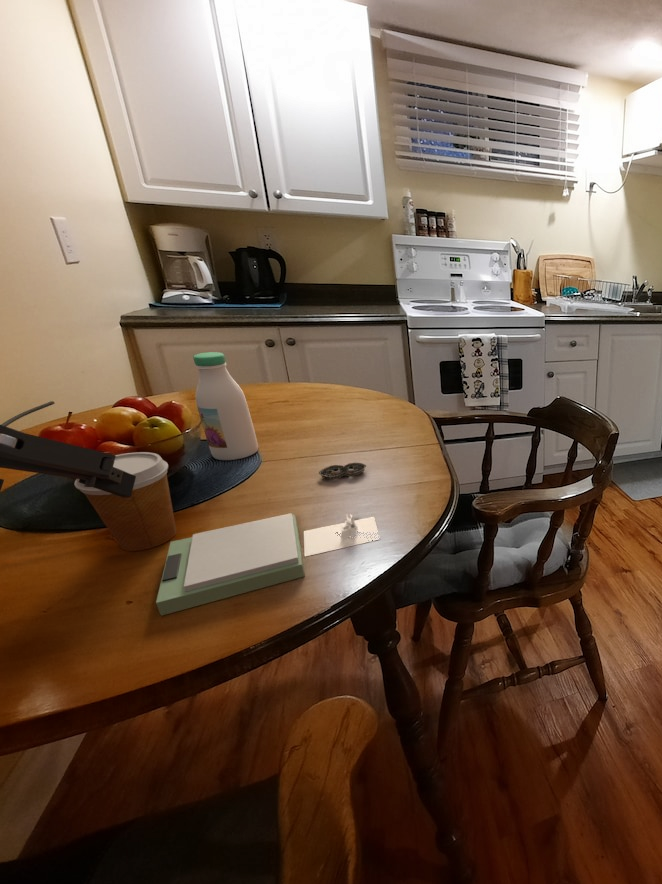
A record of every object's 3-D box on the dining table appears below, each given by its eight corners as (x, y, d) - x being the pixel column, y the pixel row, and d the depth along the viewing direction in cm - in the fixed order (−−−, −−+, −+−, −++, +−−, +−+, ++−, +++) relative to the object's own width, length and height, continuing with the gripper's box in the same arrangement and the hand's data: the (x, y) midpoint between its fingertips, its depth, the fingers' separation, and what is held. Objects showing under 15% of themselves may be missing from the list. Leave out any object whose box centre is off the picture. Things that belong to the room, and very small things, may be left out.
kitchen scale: (174, 553, 69) (168, 536, 68) (297, 525, 77) (293, 510, 75) (161, 616, 58) (153, 597, 57) (304, 576, 66) (300, 559, 65)
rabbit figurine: (359, 537, 75) (356, 519, 73) (341, 541, 74) (337, 523, 72) (357, 527, 77) (354, 509, 76) (339, 531, 76) (336, 513, 75)
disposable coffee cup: (123, 525, 74) (93, 454, 69) (199, 516, 77) (176, 447, 72) (89, 563, 66) (53, 486, 61) (176, 551, 69) (148, 477, 64)
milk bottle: (256, 442, 103) (231, 347, 95) (262, 455, 98) (236, 356, 89) (210, 450, 98) (180, 352, 90) (214, 465, 93) (182, 361, 85)
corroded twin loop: (367, 476, 92) (366, 471, 91) (319, 483, 89) (318, 478, 88) (366, 465, 96) (365, 460, 95) (319, 471, 93) (318, 466, 92)
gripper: (-405, 465, 35) (-75, 525, 55) (5, 456, 40) (176, 514, 59) (-346, 373, 38) (-51, 462, 58) (34, 374, 42) (188, 456, 62)
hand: (64, 488), depth 58 cm, fingers open, 13 cm apart
